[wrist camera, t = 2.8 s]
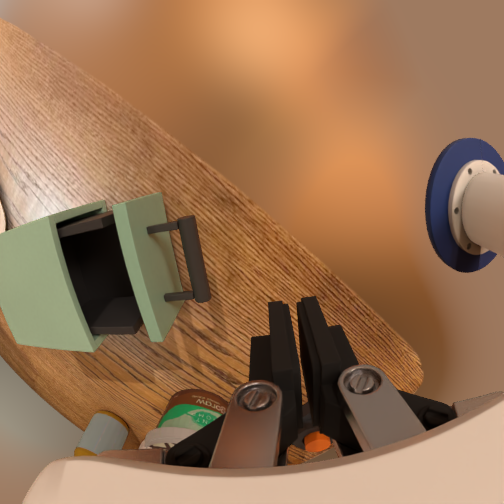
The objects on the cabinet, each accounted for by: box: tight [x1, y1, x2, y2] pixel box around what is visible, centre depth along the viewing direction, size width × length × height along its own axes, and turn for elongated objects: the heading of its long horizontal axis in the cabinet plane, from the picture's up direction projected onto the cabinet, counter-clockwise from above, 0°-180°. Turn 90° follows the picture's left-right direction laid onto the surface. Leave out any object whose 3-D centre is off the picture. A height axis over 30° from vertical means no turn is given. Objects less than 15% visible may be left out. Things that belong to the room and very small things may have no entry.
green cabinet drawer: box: [56, 192, 211, 342], centre depth 23 cm, size 17×11×8 cm
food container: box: [144, 389, 229, 450], centre depth 29 cm, size 12×6×10 cm, turn 72°
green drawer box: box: [0, 200, 109, 352], centre depth 24 cm, size 14×13×10 cm
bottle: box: [74, 410, 129, 456], centre depth 30 cm, size 7×7×15 cm
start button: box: [304, 431, 331, 452], centre depth 31 cm, size 4×4×2 cm
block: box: [292, 402, 333, 450], centre depth 33 cm, size 10×8×4 cm
